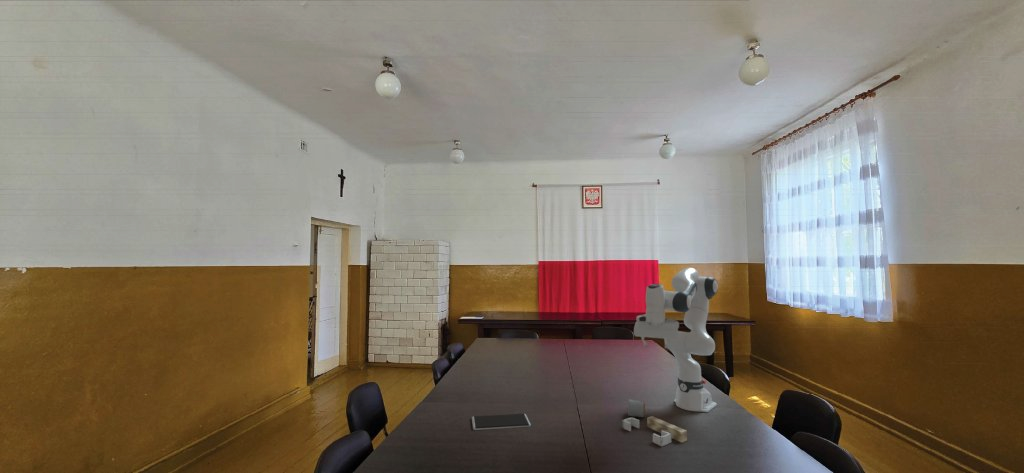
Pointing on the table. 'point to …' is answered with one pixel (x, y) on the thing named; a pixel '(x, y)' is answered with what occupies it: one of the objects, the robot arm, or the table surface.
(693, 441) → the table surface
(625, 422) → the cap
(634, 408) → the ceramic mug
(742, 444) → the table surface
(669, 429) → the tan wooden beam
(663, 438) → the cap
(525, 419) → the smartphone
